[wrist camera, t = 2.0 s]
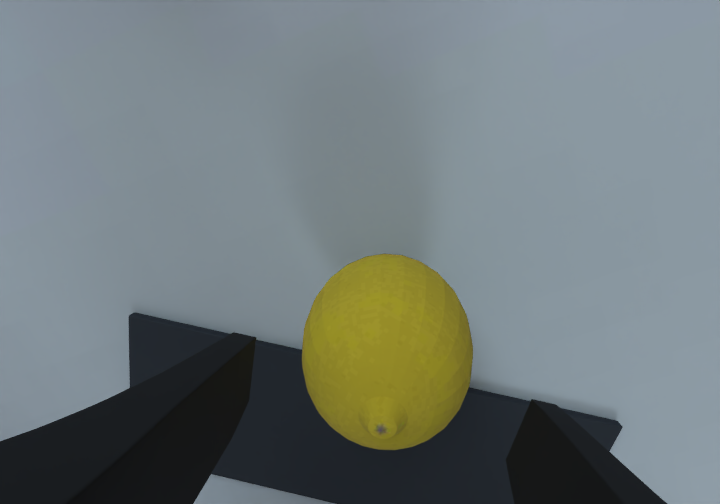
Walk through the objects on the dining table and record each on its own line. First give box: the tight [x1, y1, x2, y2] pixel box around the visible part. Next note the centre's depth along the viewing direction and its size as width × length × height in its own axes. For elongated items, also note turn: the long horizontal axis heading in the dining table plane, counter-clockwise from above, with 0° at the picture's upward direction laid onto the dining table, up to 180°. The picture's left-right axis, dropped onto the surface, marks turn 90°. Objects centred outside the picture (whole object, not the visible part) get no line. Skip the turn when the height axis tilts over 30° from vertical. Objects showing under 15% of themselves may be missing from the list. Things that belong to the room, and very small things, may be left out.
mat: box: [129, 313, 622, 504], centre depth 18 cm, size 9×24×1 cm, turn 79°
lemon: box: [302, 254, 473, 450], centre depth 12 cm, size 6×6×8 cm
